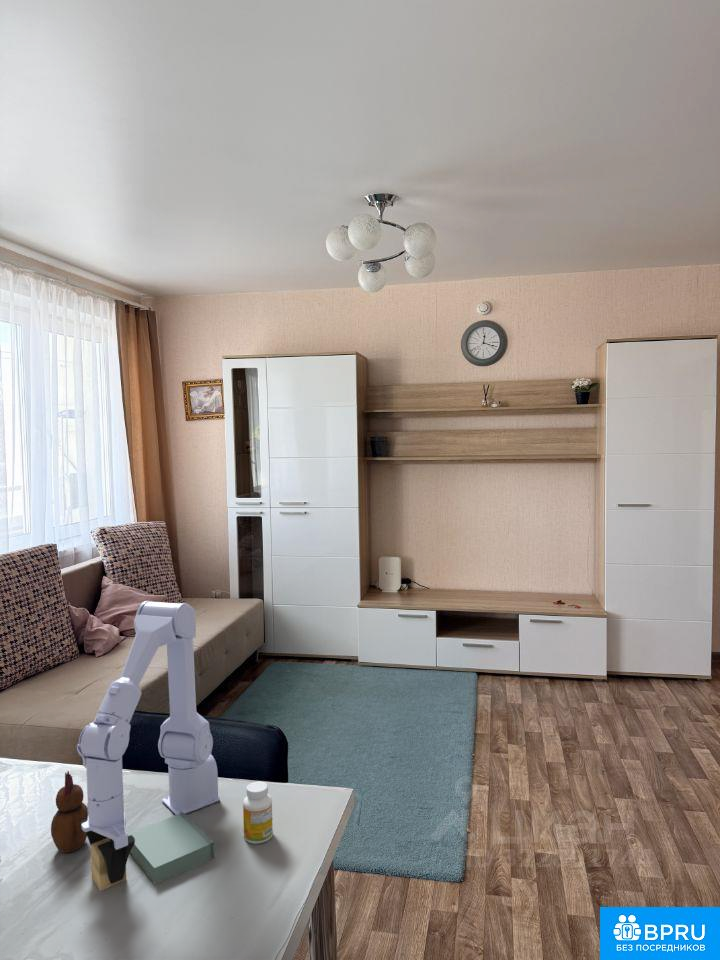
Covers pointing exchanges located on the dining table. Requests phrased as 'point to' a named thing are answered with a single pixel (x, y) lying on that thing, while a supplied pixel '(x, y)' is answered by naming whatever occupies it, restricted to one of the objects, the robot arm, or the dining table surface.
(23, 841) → the dining table surface
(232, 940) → the dining table surface
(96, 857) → the block
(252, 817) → the supplement bottle
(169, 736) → the robot arm
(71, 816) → the wooden figurine
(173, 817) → the green flat slab
